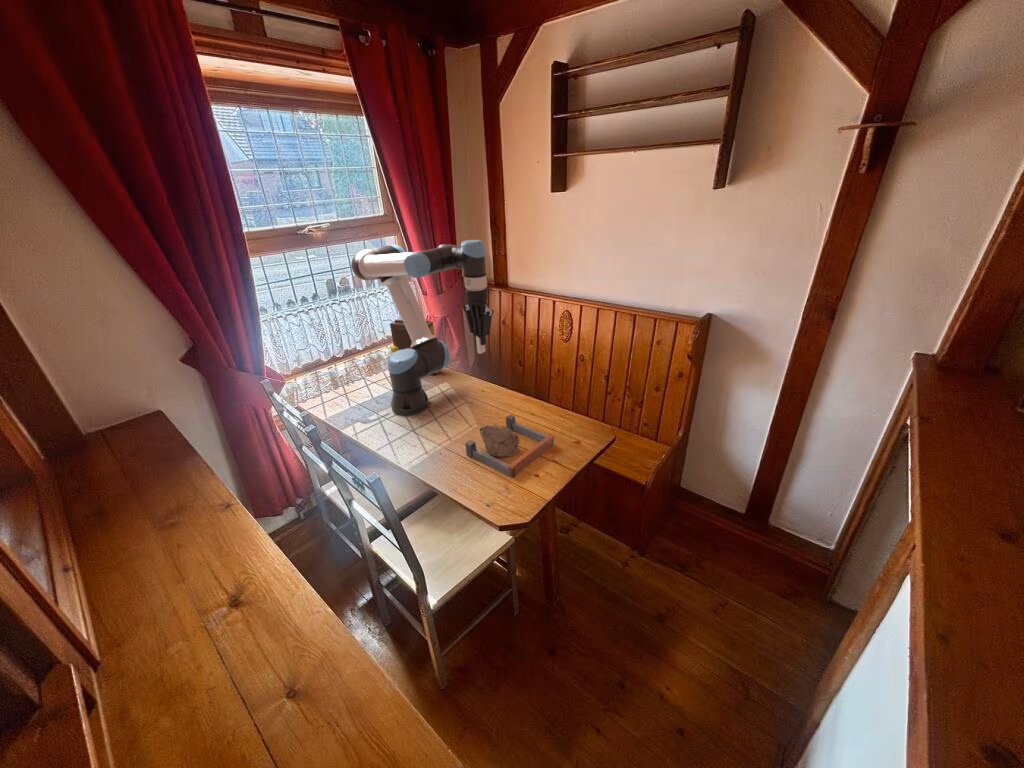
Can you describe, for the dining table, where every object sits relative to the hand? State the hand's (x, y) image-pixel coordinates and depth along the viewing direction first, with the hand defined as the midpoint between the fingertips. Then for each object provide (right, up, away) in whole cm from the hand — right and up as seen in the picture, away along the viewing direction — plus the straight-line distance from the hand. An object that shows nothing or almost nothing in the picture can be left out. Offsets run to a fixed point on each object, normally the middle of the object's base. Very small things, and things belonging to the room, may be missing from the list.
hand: (481, 352), depth 154 cm
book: (-35, -6, +51) cm, 62 cm away
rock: (+7, -35, -10) cm, 36 cm away
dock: (+11, -34, -10) cm, 37 cm away
